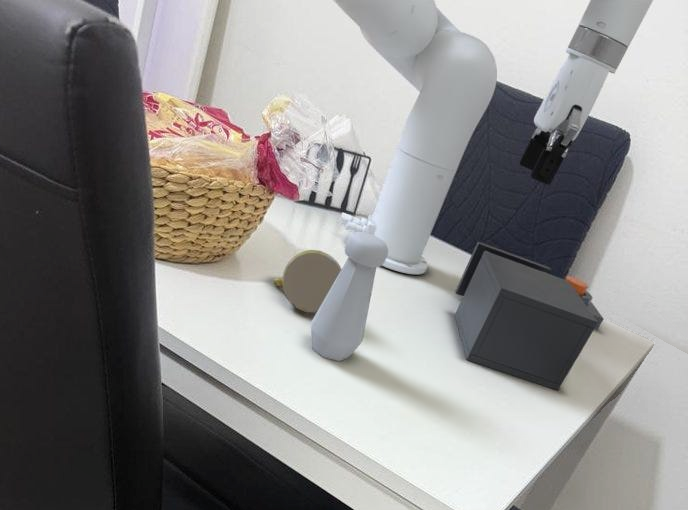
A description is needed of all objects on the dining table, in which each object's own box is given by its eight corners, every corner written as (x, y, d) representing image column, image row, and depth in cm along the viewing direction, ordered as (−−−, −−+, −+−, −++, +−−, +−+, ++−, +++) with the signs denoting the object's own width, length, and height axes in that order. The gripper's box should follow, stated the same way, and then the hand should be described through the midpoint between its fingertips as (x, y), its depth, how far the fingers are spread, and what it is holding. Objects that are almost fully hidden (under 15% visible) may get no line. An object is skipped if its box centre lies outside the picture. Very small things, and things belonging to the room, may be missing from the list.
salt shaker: (316, 332, 80) (354, 221, 73) (361, 354, 80) (404, 243, 72) (296, 347, 76) (335, 229, 68) (344, 370, 75) (388, 254, 68)
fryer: (454, 315, 101) (484, 250, 96) (535, 343, 103) (569, 281, 97) (466, 359, 89) (501, 287, 83) (558, 390, 91) (598, 322, 85)
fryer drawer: (452, 281, 111) (474, 233, 106) (519, 305, 112) (543, 258, 108) (465, 325, 96) (491, 271, 92) (542, 352, 98) (571, 300, 93)
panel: (537, 309, 118) (549, 287, 115) (527, 291, 125) (538, 269, 123) (597, 330, 119) (609, 309, 117) (583, 311, 126) (595, 290, 124)
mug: (333, 295, 92) (369, 247, 84) (305, 346, 87) (340, 301, 79) (285, 262, 91) (317, 210, 82) (253, 312, 86) (284, 262, 77)
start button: (564, 291, 118) (569, 281, 117) (558, 283, 121) (564, 273, 120) (585, 299, 119) (591, 289, 118) (579, 290, 122) (585, 281, 121)
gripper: (558, 38, 105) (502, 154, 114) (587, 43, 91) (521, 176, 100) (602, 58, 106) (544, 172, 116) (638, 67, 92) (568, 196, 101)
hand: (533, 174), depth 108 cm, fingers open, 9 cm apart
